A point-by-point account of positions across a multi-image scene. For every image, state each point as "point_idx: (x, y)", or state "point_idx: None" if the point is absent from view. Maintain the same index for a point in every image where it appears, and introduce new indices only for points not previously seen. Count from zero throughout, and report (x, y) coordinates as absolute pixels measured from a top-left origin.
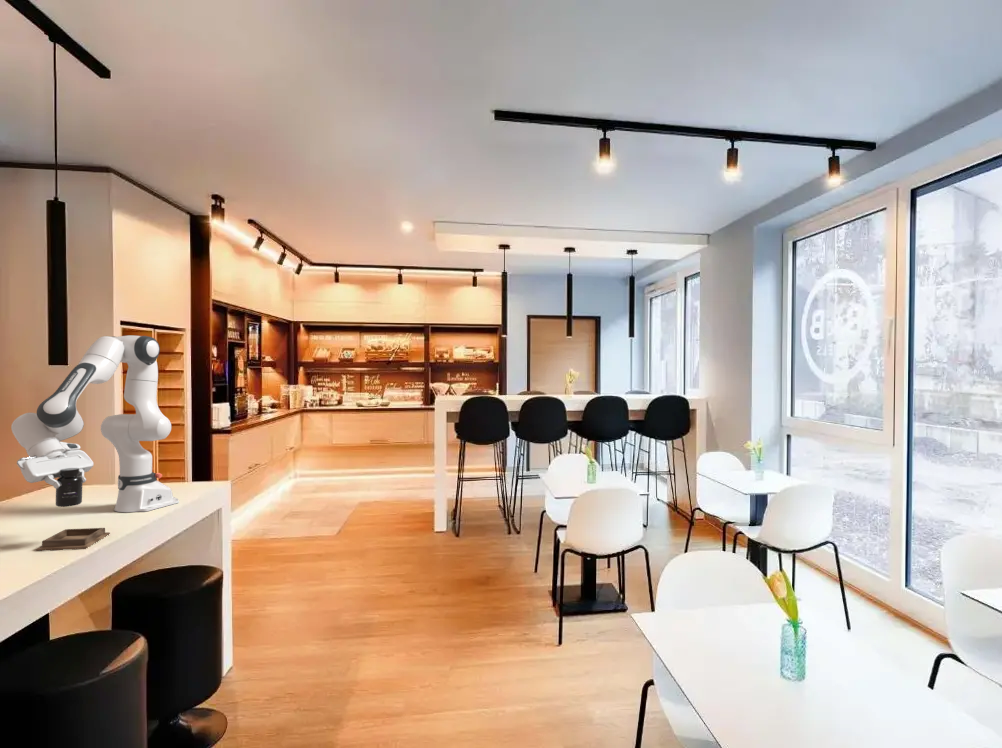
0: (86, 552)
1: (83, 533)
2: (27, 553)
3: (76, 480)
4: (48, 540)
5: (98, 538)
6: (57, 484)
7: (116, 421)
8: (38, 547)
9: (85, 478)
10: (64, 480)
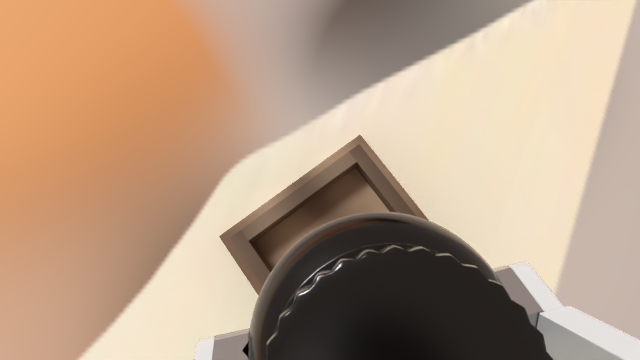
0: (378, 99)
1: None
2: None
3: (364, 213)
4: None
5: (286, 193)
6: (537, 275)
7: None
8: None
9: (196, 353)
10: (482, 265)
